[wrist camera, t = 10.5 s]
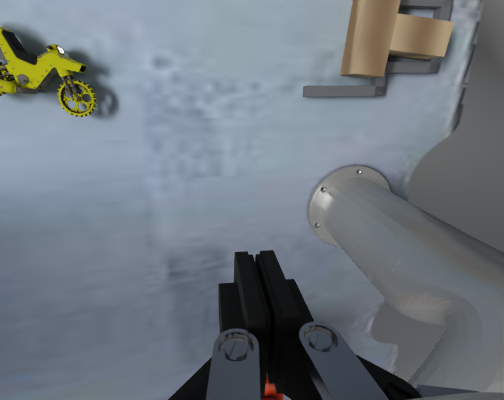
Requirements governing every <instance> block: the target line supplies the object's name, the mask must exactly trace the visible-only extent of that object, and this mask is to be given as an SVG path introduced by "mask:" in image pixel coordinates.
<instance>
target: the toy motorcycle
mask: <svg viewBox="0 0 504 400" xmlns="http://www.w3.org/2000/svg"><path fill="white" fill-rule="evenodd" d="M44 47H45V48H47V50H48V51H47V52H46V53H44V54H42V55H40V56H36V55H32V54H29V53H27V52H26V51H25V49H24V48H23V46H22V45H21V43H20V42H19V40H18V39H17V38H16V36H15V35H14V33H12V32H10V31H9V30H6V29H4V28H2V27H0V59H3V60H6V61H7V62H8V64H7V65H5V66H2V65H1V64H2V62H0V96H2V95H1V94H6V93H10V94H14V93H16V92H20V93H25V94H30V93H34V94H36V93H38V92H39V91H38V90H39V89H43V88H45V87H46V86H47V84H48V83H49V82H50V80H51V79H52V78H53V77H54V75H55V74H56V73H57V72H58V73H59V75H60V77H61V78H62V80H63V81H64V82H63V83H64V84H63V85H60V86H61V88H60V89H58V90H59V93H57V95H59V98H57V99H59V101H60V103H59V104H61V105H62V106H63V107H62V109H63V108H64V109H65V110H66V111H65V112H70V115H73V114H74V115H75V117H77V116H78V115H79V117H83V115H84V117H85V116H87V114H88V115H91V113H90V112H94V110H93V109H94V108H97V107H96V106H95V105H96V104H98V103H97V102H96V99H97V98H95V95H96V93H94V92H93V90H94V89H91V88H90V85H85V83H86V82H82V83H81V80H77V82H76V80H74V79H75V78H74V75H73V73H72V71H76V72H81V73H84V72H85V70H86V68H87V66H86V65H84V64H82V63H80V62H77V61H75V60H73V59H71V58H69V57H66V56H65V55H64V53H65V51H63V50H64V49H63V48H61V47H60V46H58V45H55V44H54V45H51V46H44ZM7 70H8V71H7ZM11 76H14V78H15V80H13V79H10V78H12V77H11ZM70 76H71V77H70ZM65 79H66V81H67V82H66V81H65ZM71 79H72V81H71ZM79 86H81V88H82V89H83V92H82V93H80V92H81V89H80V87H79ZM65 90H67V93H68V94H70V96H71V98H67V97H66V96H65ZM5 92H6V93H5ZM78 93H79V94H78ZM72 94H73V96H72ZM84 94H88V95H90V97H91V101H90V102H85V101H84V100H83V97H82V96H83V95H84ZM69 100H73V101H75V103H76V107H75V108H73V109H72V108H70V107H69V106H68V104H67V102H68V101H69ZM79 103H85V104H86V106H87V109H86V110H85V111H81V110H80V109H79V107H78V105H79Z"/></svg>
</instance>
